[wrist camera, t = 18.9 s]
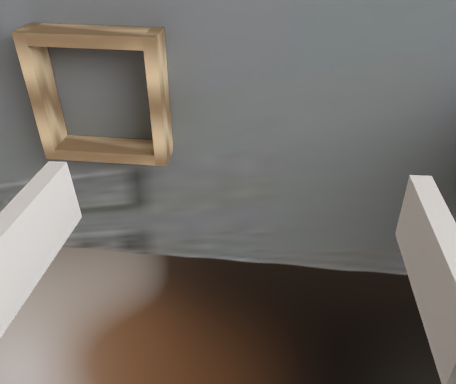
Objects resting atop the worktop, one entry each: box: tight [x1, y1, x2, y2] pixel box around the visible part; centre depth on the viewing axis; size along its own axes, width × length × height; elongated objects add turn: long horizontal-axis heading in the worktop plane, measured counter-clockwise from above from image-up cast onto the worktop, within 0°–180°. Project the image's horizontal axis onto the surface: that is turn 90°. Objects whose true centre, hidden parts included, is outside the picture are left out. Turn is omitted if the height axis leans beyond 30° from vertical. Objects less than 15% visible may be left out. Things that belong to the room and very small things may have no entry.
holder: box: [12, 23, 173, 166], centre depth 44 cm, size 13×13×4 cm
